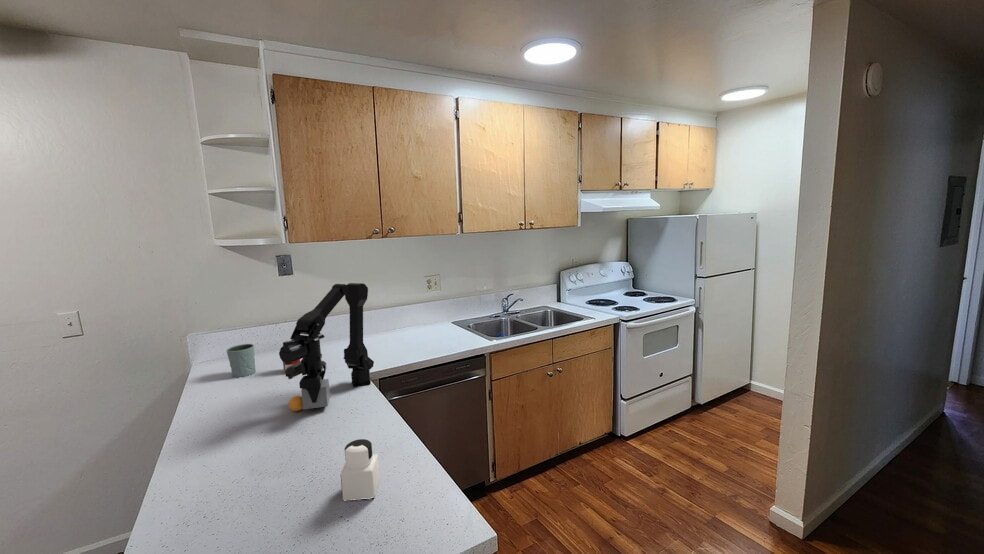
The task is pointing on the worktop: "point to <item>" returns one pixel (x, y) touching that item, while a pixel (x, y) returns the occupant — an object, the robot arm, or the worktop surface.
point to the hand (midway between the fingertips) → (316, 397)
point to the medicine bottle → (359, 471)
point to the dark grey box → (322, 396)
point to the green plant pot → (242, 360)
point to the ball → (296, 403)
